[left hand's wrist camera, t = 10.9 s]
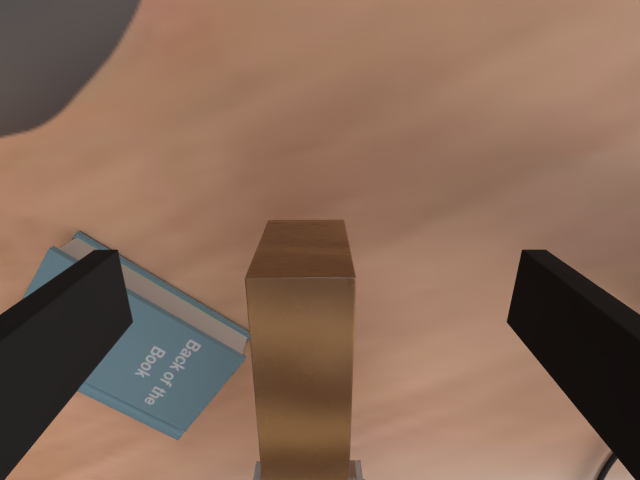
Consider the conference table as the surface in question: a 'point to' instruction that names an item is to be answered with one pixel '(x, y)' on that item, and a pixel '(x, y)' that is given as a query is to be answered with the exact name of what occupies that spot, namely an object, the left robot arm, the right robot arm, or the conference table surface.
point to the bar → (302, 348)
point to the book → (156, 347)
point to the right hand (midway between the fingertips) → (309, 466)
